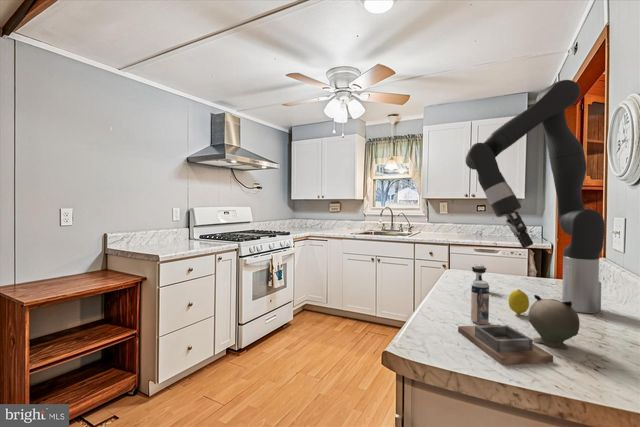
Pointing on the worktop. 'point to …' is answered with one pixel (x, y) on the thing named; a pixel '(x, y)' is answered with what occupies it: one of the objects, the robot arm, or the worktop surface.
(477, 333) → the walnut dock
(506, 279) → the worktop surface
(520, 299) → the lemon
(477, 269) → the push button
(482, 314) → the beer can
